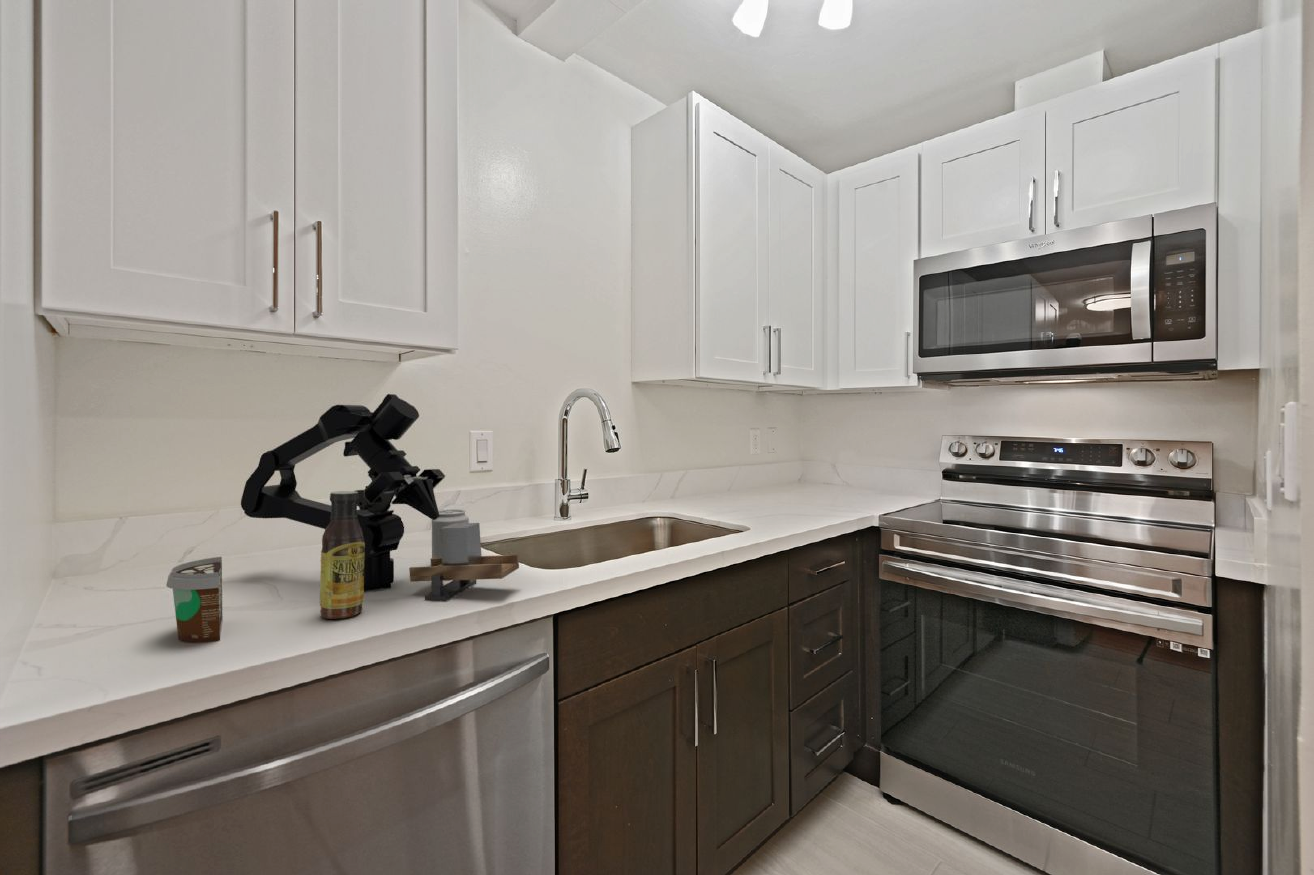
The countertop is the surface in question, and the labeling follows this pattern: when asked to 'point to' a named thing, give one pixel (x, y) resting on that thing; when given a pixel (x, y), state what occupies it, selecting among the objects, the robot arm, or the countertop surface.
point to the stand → (447, 588)
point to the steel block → (461, 544)
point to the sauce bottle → (342, 559)
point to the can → (442, 521)
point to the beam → (467, 569)
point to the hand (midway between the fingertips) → (436, 518)
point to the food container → (198, 599)
